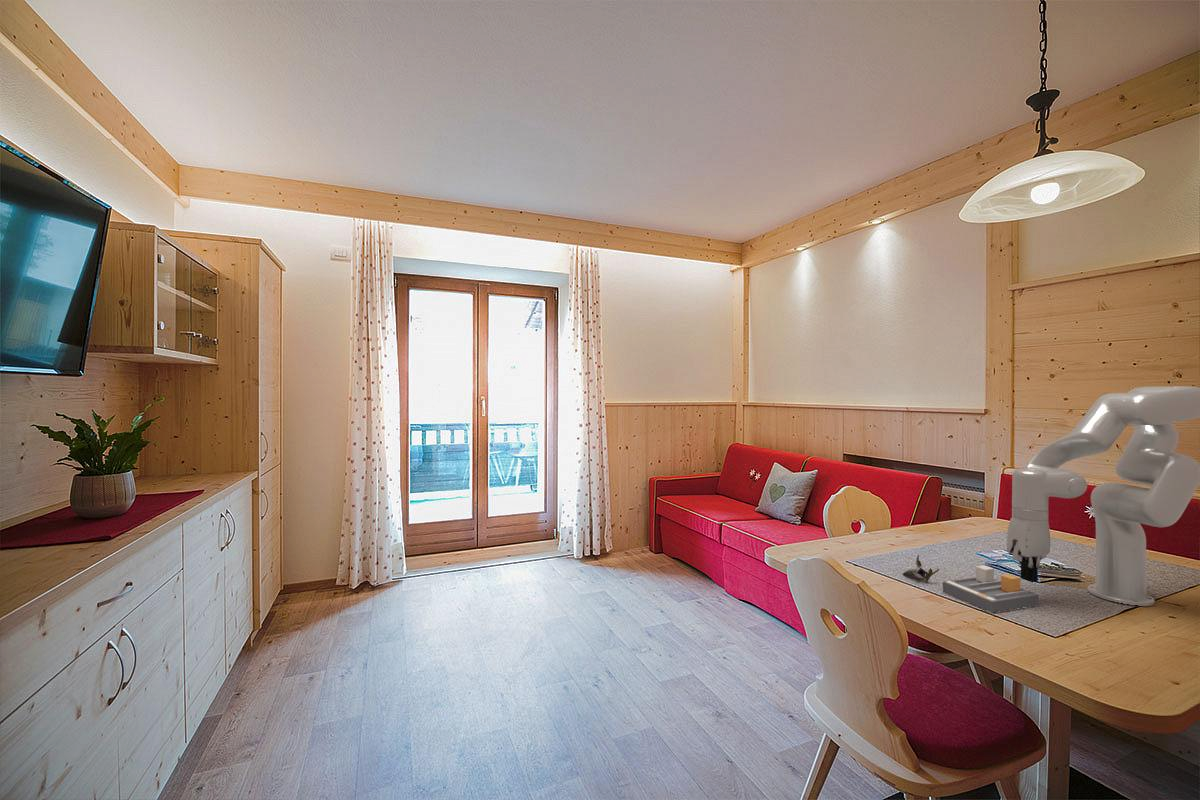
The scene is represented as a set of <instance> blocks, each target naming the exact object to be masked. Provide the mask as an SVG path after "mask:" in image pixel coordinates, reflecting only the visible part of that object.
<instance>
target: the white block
mask: <svg viewBox="0 0 1200 800" xmlns="http://www.w3.org/2000/svg"><path fill="white" fill-rule="evenodd" d="M975 577H976V580H977V581H980V582H982V583H984V582H991V581H994V579H995V568H992V567H990V566H987V565H985V564H984V565H983V564H982V565H976V566H975Z"/></svg>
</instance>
